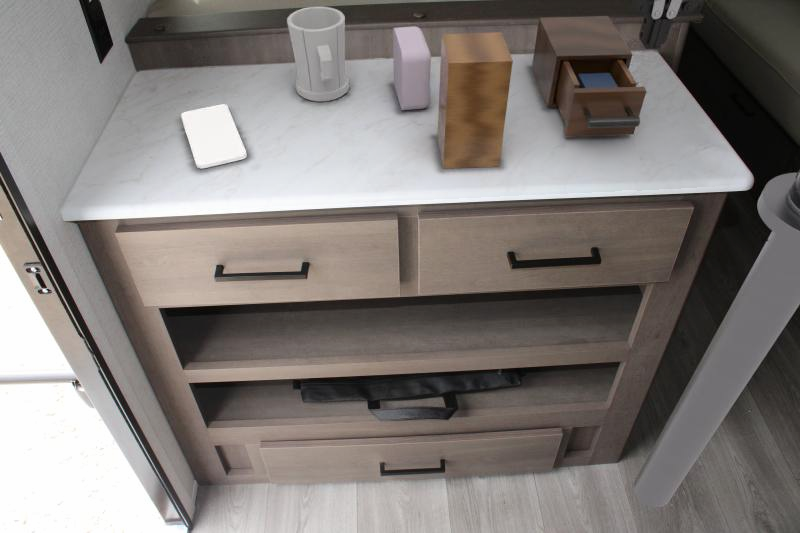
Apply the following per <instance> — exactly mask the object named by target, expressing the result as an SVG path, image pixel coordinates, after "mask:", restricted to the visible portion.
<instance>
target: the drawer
mask: <svg viewBox="0 0 800 533" xmlns="http://www.w3.org/2000/svg"><path fill="white" fill-rule="evenodd" d="M592 73H610V74H611V76H612V78H613V79H614V81H615V83H616V84H617V86H618V87H611V88H579V86H580V84H579V82H578V80H577V77H578V74H592ZM637 84H638V82H636V79H635V78H634V76H633V74H632V73H631V71H630V70H629V69H628V68H627V67H626V65H625V63H624V62H623V60H622V59H585V60H561V61H560V67H559V72H558V78H557V83H556V88H555V94H554V98H555V100H556V103H557V105H558V108H557V109H558V110H559V112H560V116H561V117H562V120H563V122H564V128H563V134H564V137H594V136H595V137H598V136H631V135H635V131H636V128H637V127H638V128H639V126H640V124H641V119H640V118H641V117H640V114H641V111H642V108H643V104H644V102H645V97H646V94H647V89H646V87H645V86H637Z"/></svg>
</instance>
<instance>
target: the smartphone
mask: <svg viewBox="0 0 800 533" xmlns="http://www.w3.org/2000/svg"><path fill="white" fill-rule="evenodd" d="M180 117H181V121H182V124H183V128H184V131H185V132H184V133H185V135H186V137H187V141H188V143H189V146H190V149H191V153H192V156H193V159H194V163H195V166H196V168H198V169H207V168H212V167H216V166H220V165H224V164H228V163H234V162H238V161H241V160H244V159H246V158H247V156H248V155H247V150H246V148H245V145H244V143H243V140H242V138H241V136H240V133H239V131H238V128H237V125H236V123H235V120H234V117H233V116H232V114H231V111H230V108H229V106H228V104H224V103H221V104H216V105H212V106H206V107H201V108H196V109H192V110H187V111H184V112H182V113H181V114H180Z"/></svg>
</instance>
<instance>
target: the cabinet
mask: <svg viewBox="0 0 800 533" xmlns="http://www.w3.org/2000/svg"><path fill="white" fill-rule="evenodd" d="M534 43H535V44H534V49H533V50H534V51H533V56H532V64H531V70H532V72H533V75H534V77H535V78H534V79H535V80H536V82H537V85H538V88H539V90H540V93H541V95H542V98H543V100H544V101H543V102H544V103H545V105H546V109H549V110H550V109H559V108H558V105H557V103H556V100H555V98H554V94H555V88H556V83H557V78H558V72H559V67H560V61H561V60H585V59H622V60H623V62H624V63H625V65H626V67H627V68H628V70H629V69H630V65H631V62H632V58H633V52H632V50H631V49H630V48H629V46H628V45H627V43H626V42H625V40H624V38H623V37H622V35H621V34H620V32H619V30H618V29H617V27H616V26H615V24H614V22H613V21H612V20H611V18H610V17H609V16H608V15H598V16H595V15H593V16H555V17H552V16H551V17H539V18H538V25H537V29H536V37H535V42H534Z"/></svg>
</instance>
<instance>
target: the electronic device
mask: <svg viewBox="0 0 800 533" xmlns="http://www.w3.org/2000/svg"><path fill="white" fill-rule="evenodd" d="M392 36H393V37H392V40H393V41H392V42H393V43H392V47H393V48H392V54H393V55H392V56H393V57H392V58H393V61H392V62H393V84H394V85H393V86H394V89H395V92H396V96H397V99H398V102H399V106H400V111H413V110H423V109H426V108H427V107H428V106H429V104H430V100H431V98H430V96H431V69H432V68H431V65H432V55H431V51H430V49H429V46H428V43H427V41H426V38H425V35H424V33H423V31H422V29H421V28H420V27H418V26H416V25H415V26H402V27H393V29H392Z"/></svg>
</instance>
